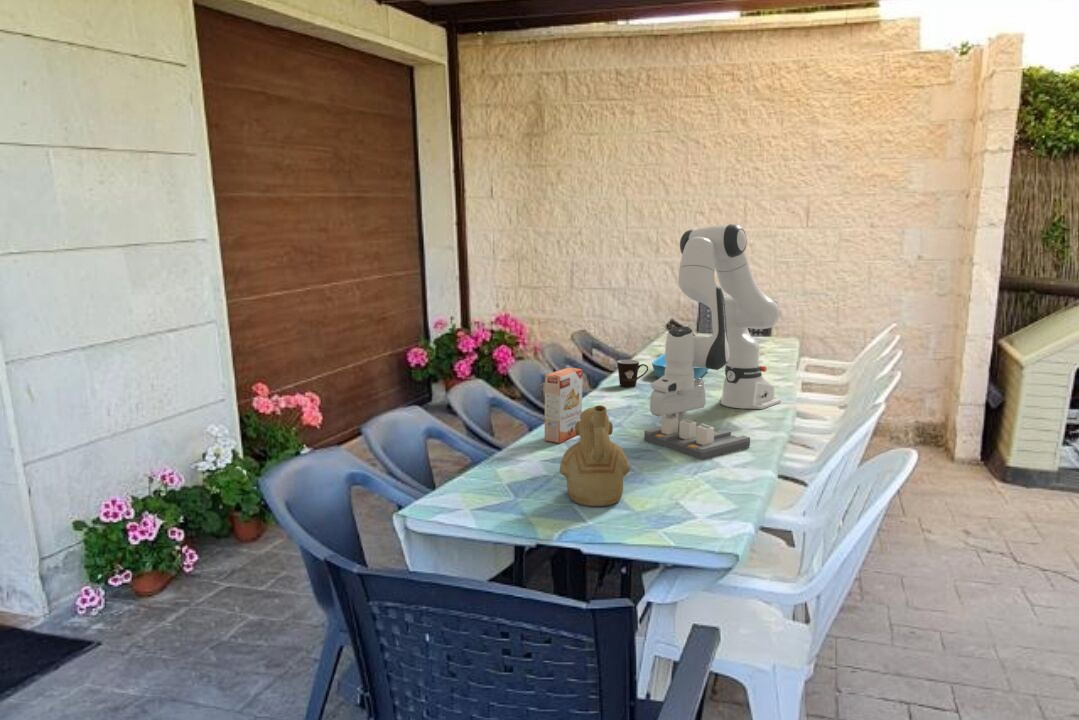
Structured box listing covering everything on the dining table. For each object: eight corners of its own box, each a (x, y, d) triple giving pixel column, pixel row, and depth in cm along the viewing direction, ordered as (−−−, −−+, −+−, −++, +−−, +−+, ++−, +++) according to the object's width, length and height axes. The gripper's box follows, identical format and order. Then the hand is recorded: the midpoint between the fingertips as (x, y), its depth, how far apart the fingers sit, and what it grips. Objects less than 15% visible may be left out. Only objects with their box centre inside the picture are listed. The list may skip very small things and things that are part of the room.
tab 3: (703, 441, 231) (704, 422, 230) (713, 444, 227) (714, 425, 226) (696, 442, 229) (696, 424, 228) (706, 446, 226) (706, 427, 225)
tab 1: (668, 431, 242) (669, 413, 241) (677, 433, 238) (678, 416, 237) (661, 432, 240) (661, 414, 239) (670, 435, 237) (671, 417, 236)
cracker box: (560, 444, 237) (560, 376, 233) (543, 441, 240) (543, 374, 236) (583, 433, 249) (583, 368, 245) (566, 430, 252) (566, 366, 248)
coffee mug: (614, 387, 312) (614, 362, 310) (620, 383, 320) (620, 359, 318) (643, 389, 308) (643, 364, 306) (648, 385, 316) (648, 360, 314)
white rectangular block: (686, 435, 236) (686, 417, 235) (696, 438, 233) (696, 420, 232) (679, 437, 235) (679, 419, 234) (688, 440, 231) (689, 422, 230)
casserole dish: (700, 385, 315) (700, 368, 314) (645, 381, 324) (646, 364, 323) (716, 368, 349) (717, 352, 347) (667, 365, 357) (667, 349, 356)
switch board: (691, 429, 252) (691, 420, 251) (749, 447, 232) (750, 437, 232) (644, 439, 241) (644, 430, 240) (701, 459, 221) (701, 449, 220)
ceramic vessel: (623, 483, 202) (624, 389, 198) (635, 512, 183) (636, 408, 178) (557, 485, 202) (557, 390, 197) (562, 514, 183) (561, 409, 178)
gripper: (696, 375, 246) (694, 418, 249) (647, 384, 235) (646, 429, 238) (711, 379, 241) (709, 422, 244) (661, 388, 230) (660, 433, 233)
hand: (678, 425), depth 241 cm, fingers closed
